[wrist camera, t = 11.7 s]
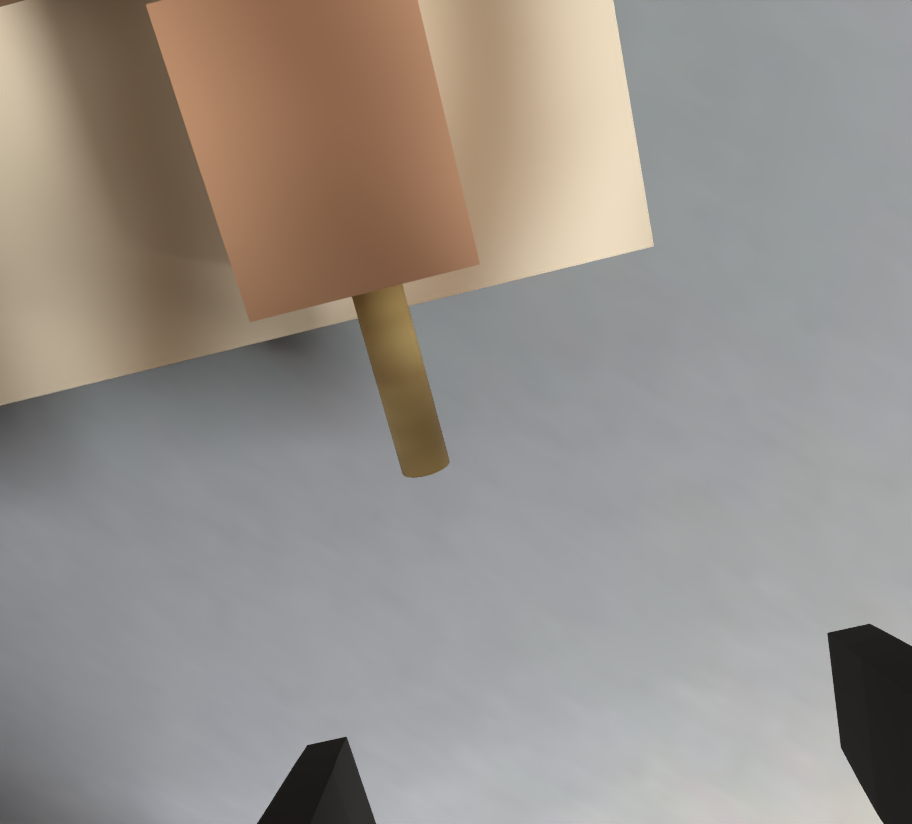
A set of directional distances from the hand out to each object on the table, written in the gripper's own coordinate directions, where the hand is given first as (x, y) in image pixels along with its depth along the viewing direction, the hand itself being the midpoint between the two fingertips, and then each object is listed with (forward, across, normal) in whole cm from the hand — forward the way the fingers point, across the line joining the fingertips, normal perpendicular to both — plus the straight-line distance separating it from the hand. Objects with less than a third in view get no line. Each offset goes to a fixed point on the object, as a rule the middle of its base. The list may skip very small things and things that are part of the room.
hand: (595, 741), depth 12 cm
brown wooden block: (+9, +2, -7) cm, 11 cm away
